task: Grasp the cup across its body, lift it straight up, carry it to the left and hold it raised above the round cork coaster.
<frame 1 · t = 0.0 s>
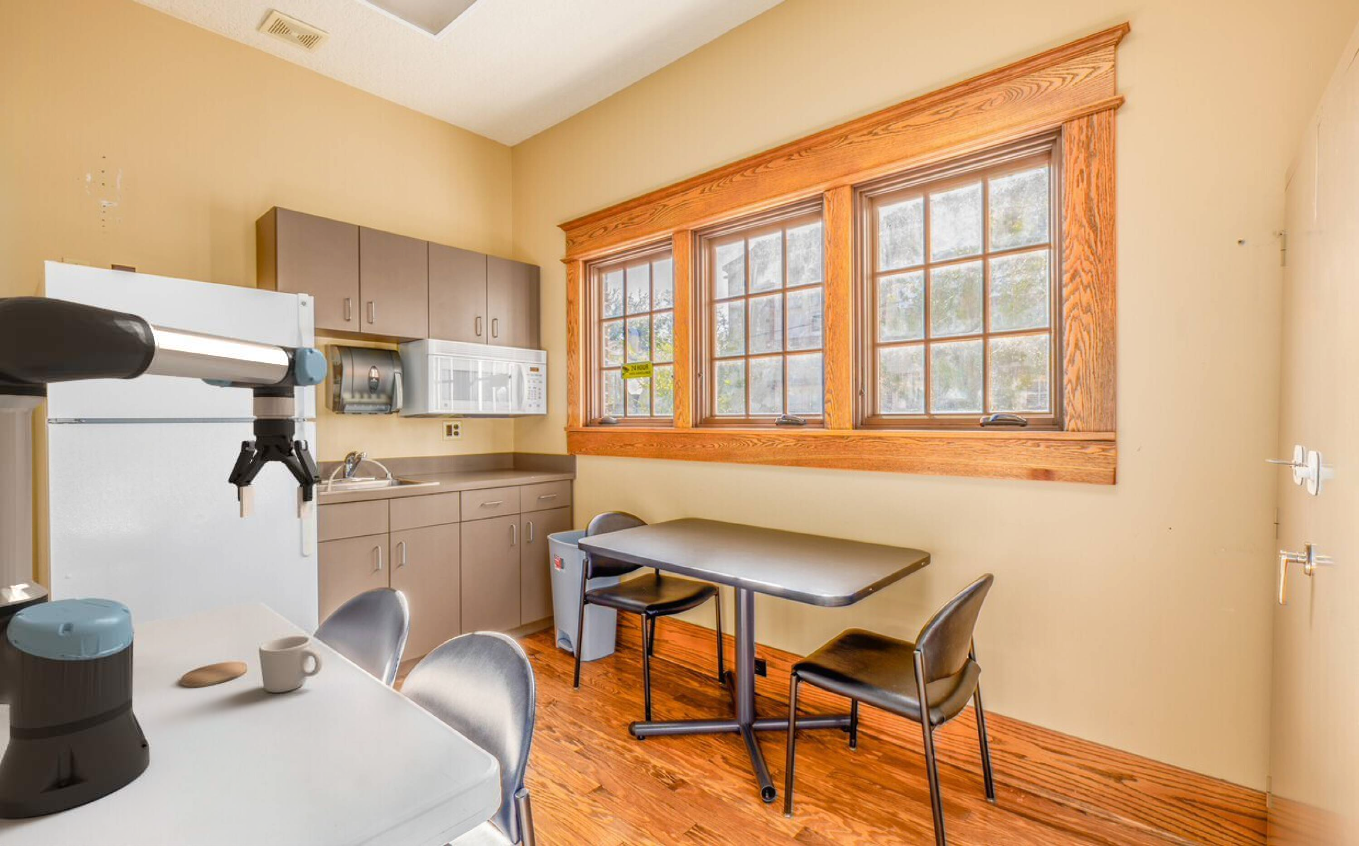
hand: (275, 516, 132), 28 cm above the table, fingers open, 13 cm apart
coaster: (214, 675, 117), on the table
cup: (293, 688, 112), on the table
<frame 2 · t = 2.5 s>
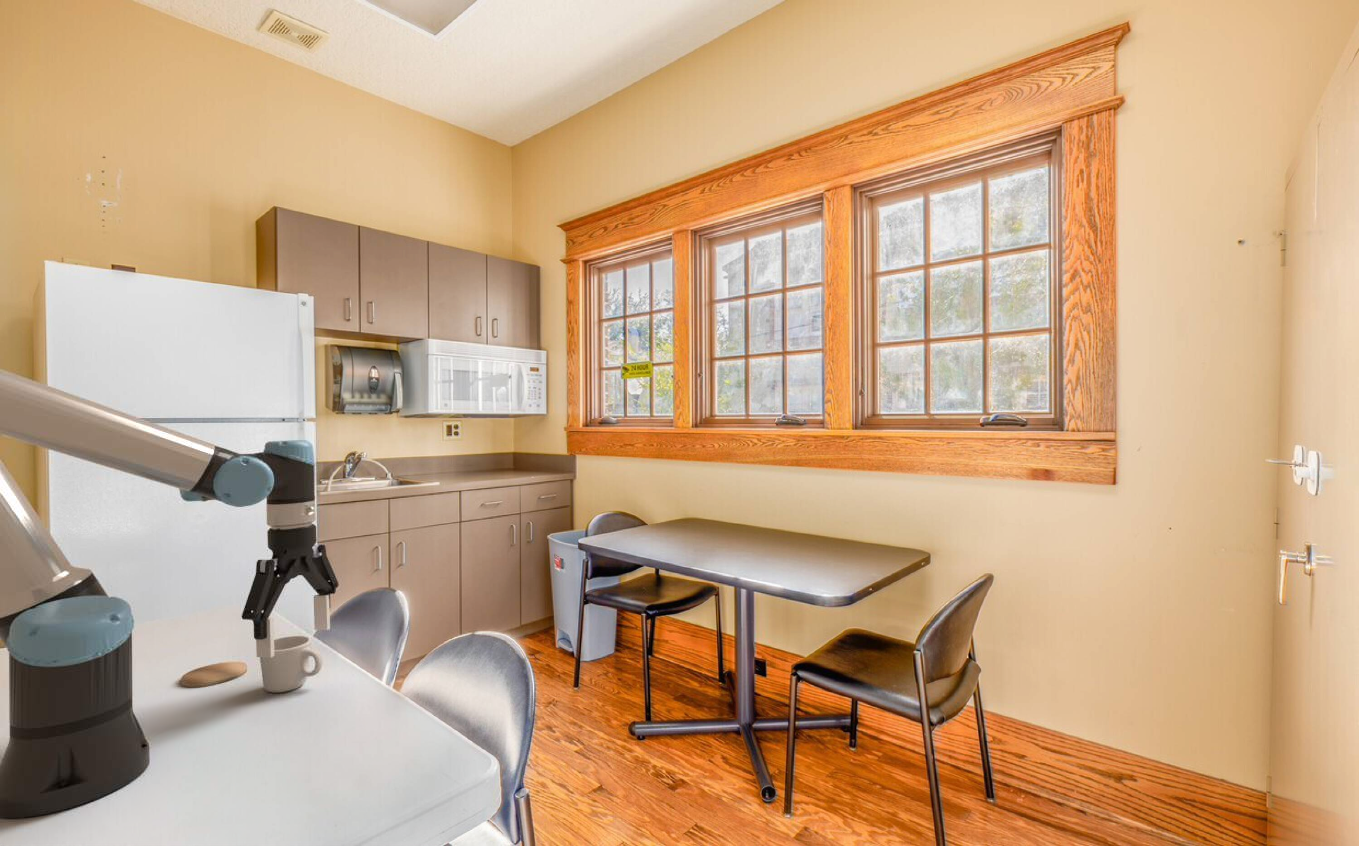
hand: (295, 642, 112), 8 cm above the table, fingers open, 13 cm apart
nothing on the table moved.
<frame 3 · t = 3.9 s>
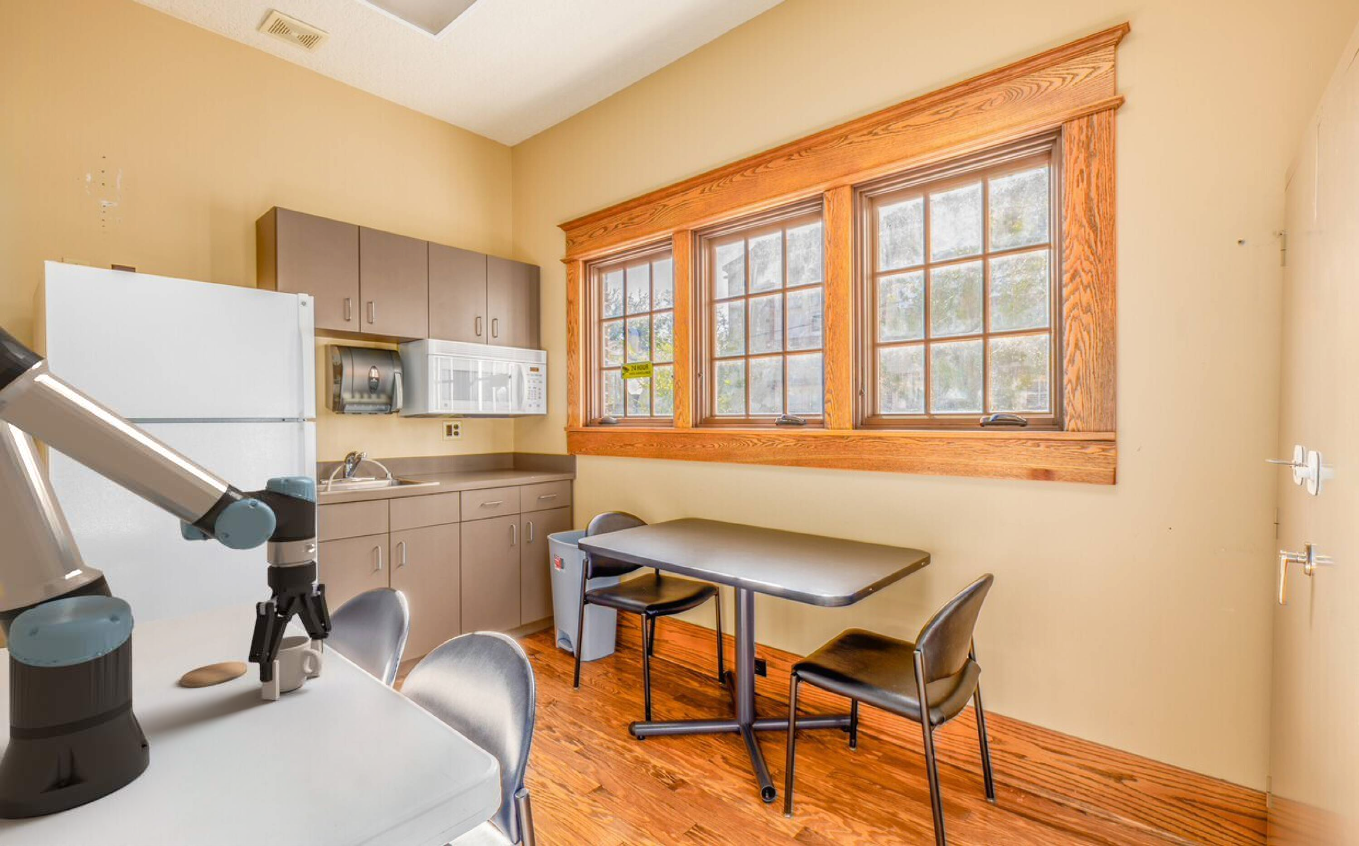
hand: (293, 685, 112), 0 cm above the table, fingers open, 10 cm apart
nothing on the table moved.
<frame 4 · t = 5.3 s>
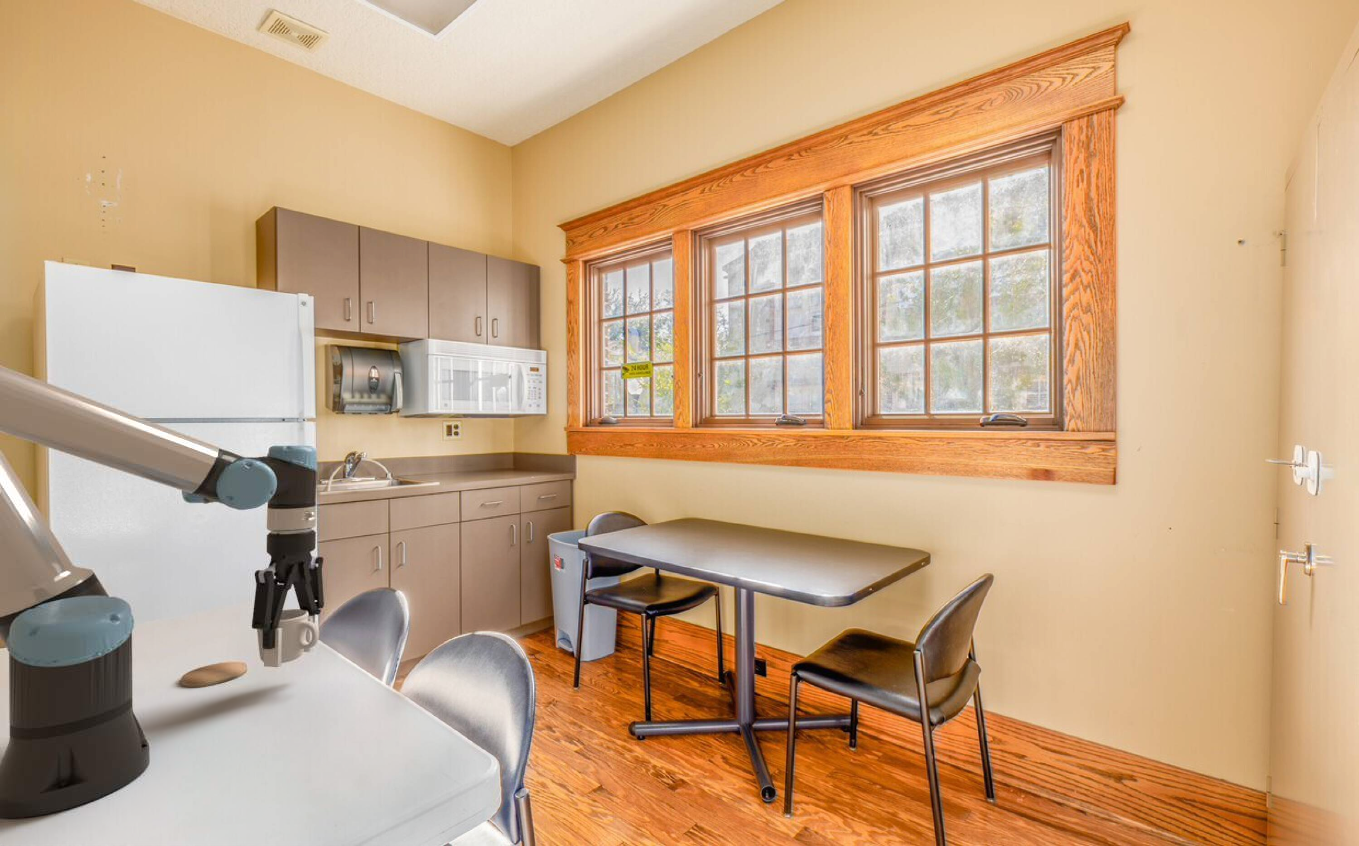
hand: (289, 658, 111), 5 cm above the table, fingers closed on cup, 7 cm apart
cup: (289, 660, 111), point 5 cm above the table, touching gripper
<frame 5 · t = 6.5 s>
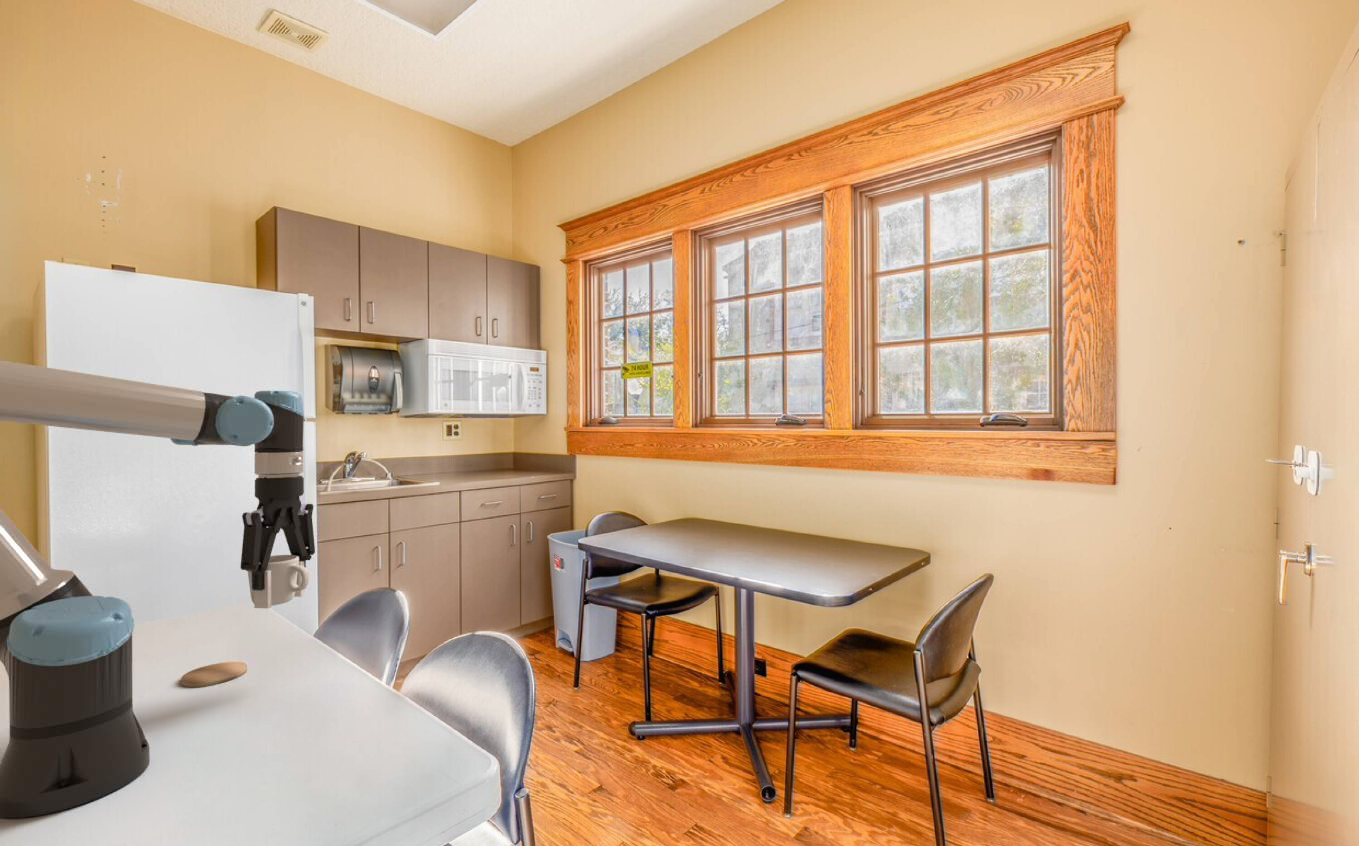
hand: (280, 601, 112), 15 cm above the table, fingers closed on cup, 7 cm apart
cup: (280, 604, 112), point 15 cm above the table, touching gripper
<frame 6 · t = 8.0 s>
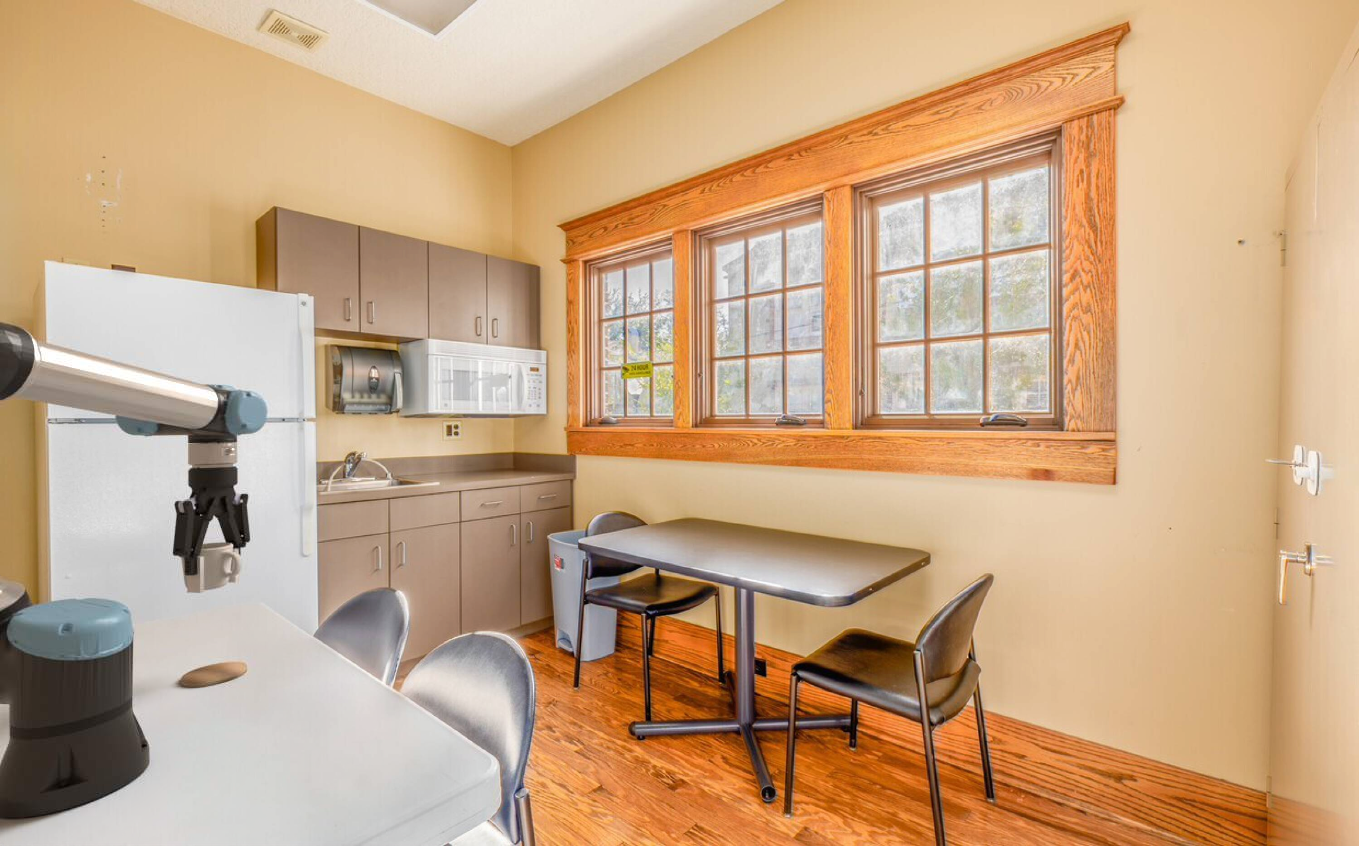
hand: (213, 586, 117), 17 cm above the table, fingers closed on cup, 7 cm apart
cup: (214, 589, 117), point 16 cm above the table, touching gripper
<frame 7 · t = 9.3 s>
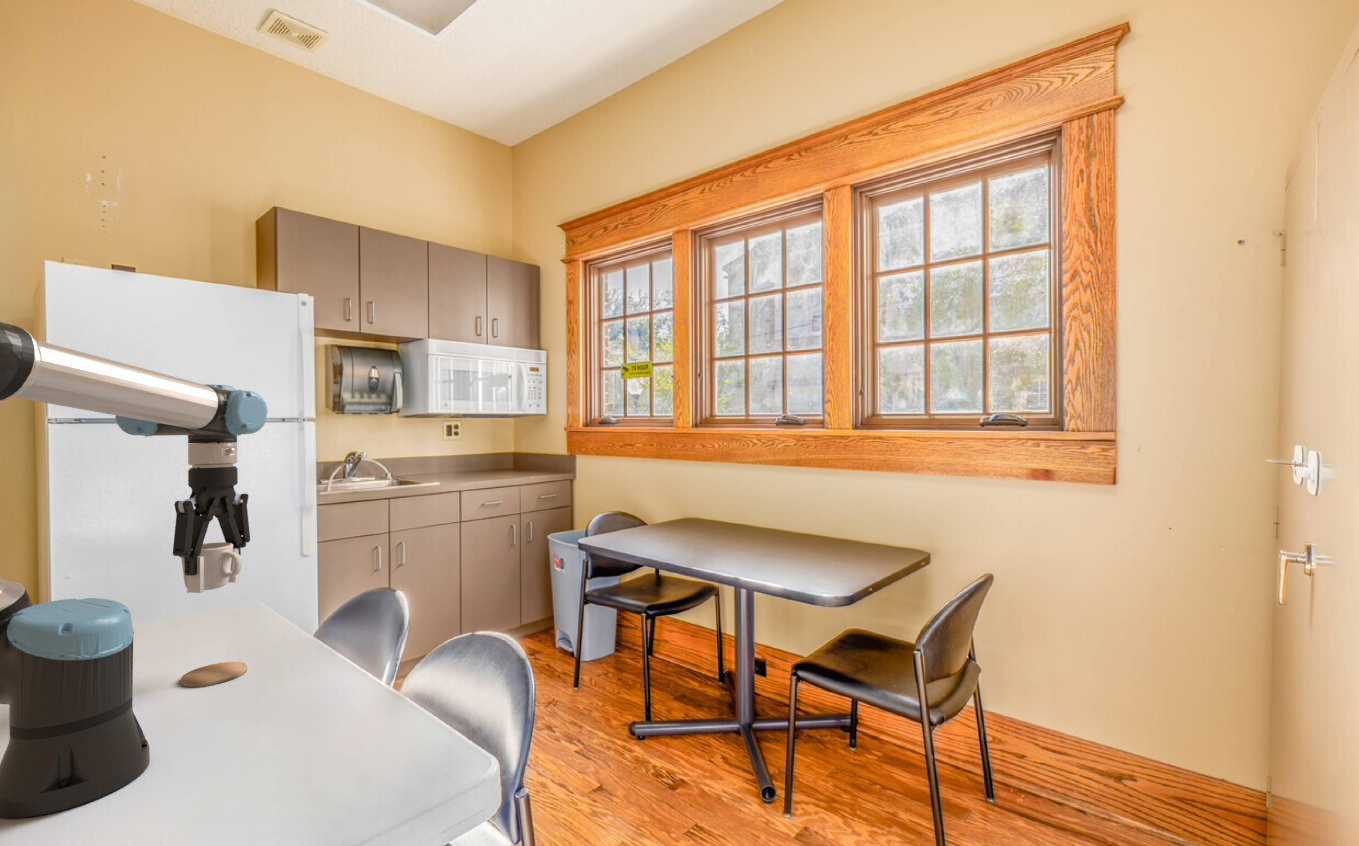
hand: (213, 586, 117), 17 cm above the table, fingers closed on cup, 7 cm apart
cup: (214, 589, 117), point 16 cm above the table, touching gripper
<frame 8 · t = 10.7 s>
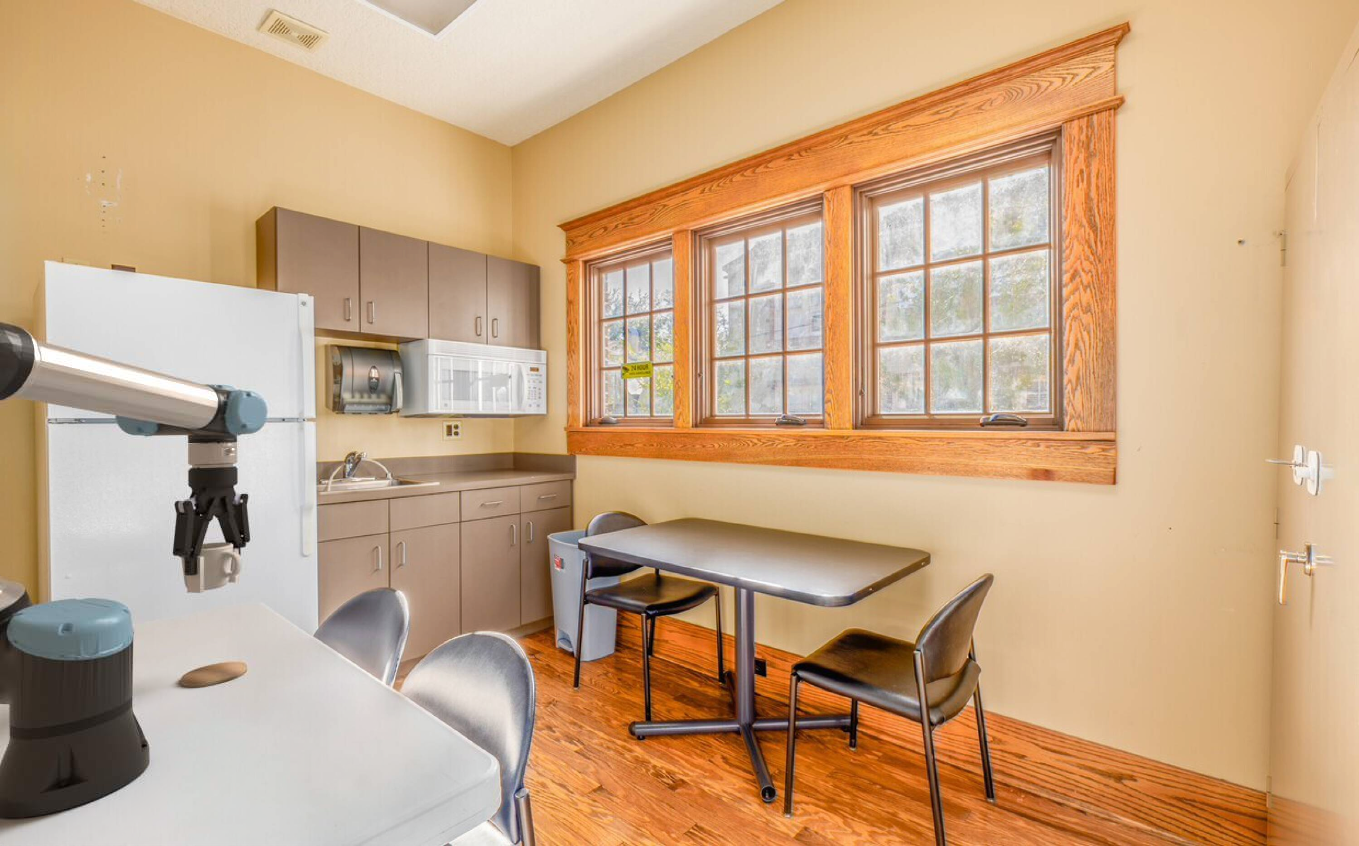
hand: (213, 586, 117), 17 cm above the table, fingers closed on cup, 7 cm apart
cup: (214, 589, 117), point 16 cm above the table, touching gripper
at the end: the gripper is holding cup; cup point 16.5 cm above the table; cup inside the target area on the coaster (0.0 cm from its centre), point 16.5 cm above the coaster's base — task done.
